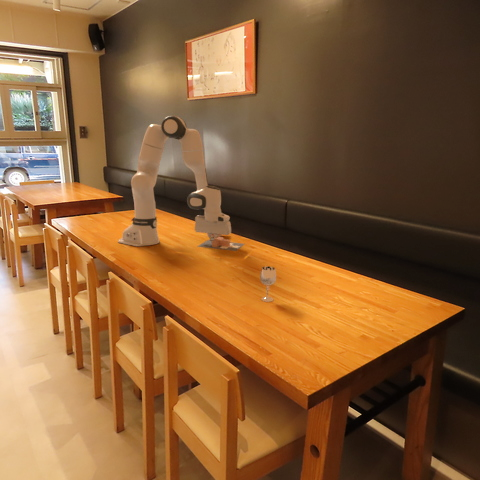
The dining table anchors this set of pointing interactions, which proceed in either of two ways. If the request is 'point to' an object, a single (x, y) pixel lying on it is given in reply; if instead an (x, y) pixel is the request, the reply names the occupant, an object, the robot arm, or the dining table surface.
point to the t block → (220, 242)
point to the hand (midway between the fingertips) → (212, 241)
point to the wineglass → (268, 280)
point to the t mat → (232, 246)
